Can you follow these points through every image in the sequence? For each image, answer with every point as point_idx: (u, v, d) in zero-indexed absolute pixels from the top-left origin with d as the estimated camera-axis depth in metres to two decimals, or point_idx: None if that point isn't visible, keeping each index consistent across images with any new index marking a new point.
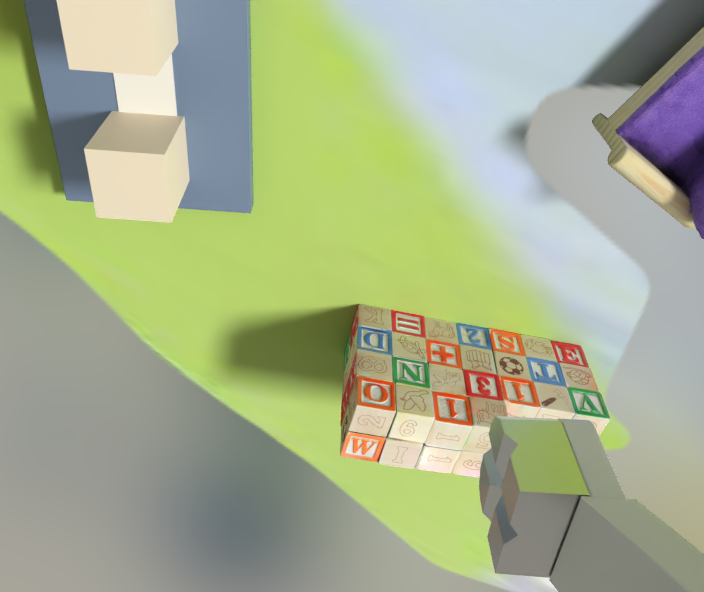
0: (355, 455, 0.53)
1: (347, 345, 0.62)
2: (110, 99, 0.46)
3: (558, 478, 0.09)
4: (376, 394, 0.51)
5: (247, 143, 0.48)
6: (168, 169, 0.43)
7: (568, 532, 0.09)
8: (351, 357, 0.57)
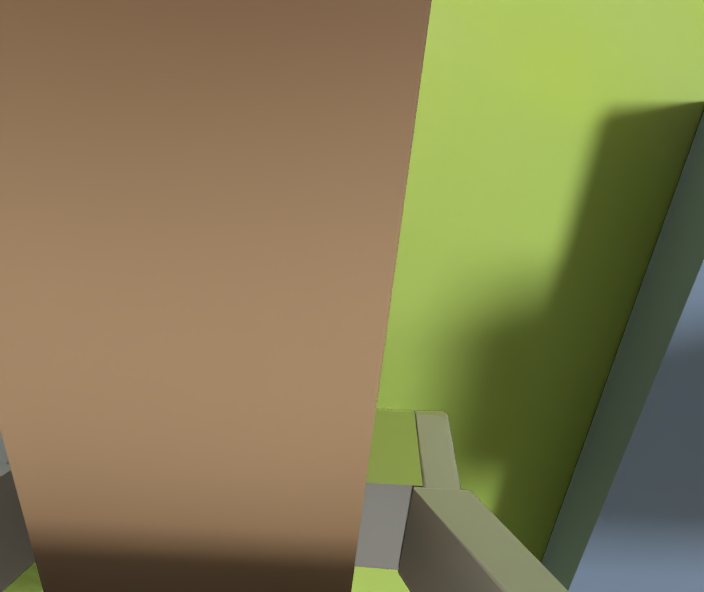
0: None
1: None
2: None
3: (395, 469, 0.09)
4: None
5: None
6: None
7: (407, 523, 0.09)
8: None
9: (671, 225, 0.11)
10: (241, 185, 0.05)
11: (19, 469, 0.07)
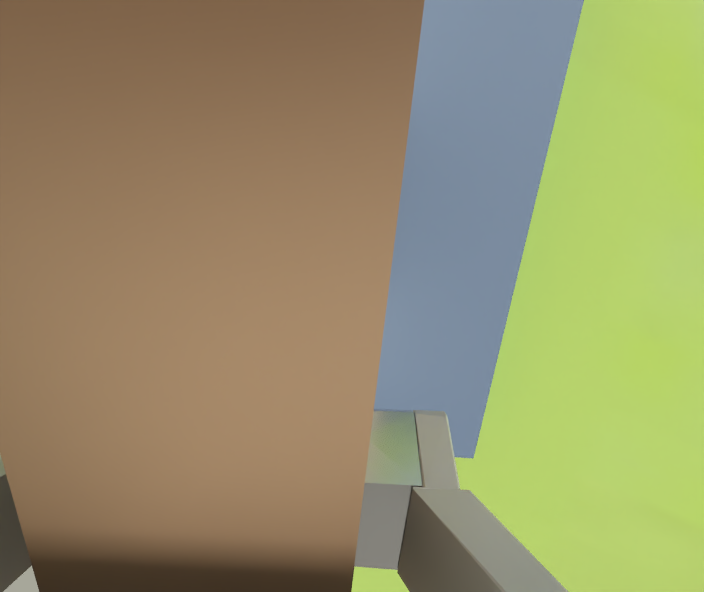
0: None
1: None
2: None
3: (394, 469, 0.09)
4: None
5: (499, 328, 0.21)
6: None
7: (406, 523, 0.09)
8: None
9: None
10: (236, 200, 0.05)
11: (16, 481, 0.07)
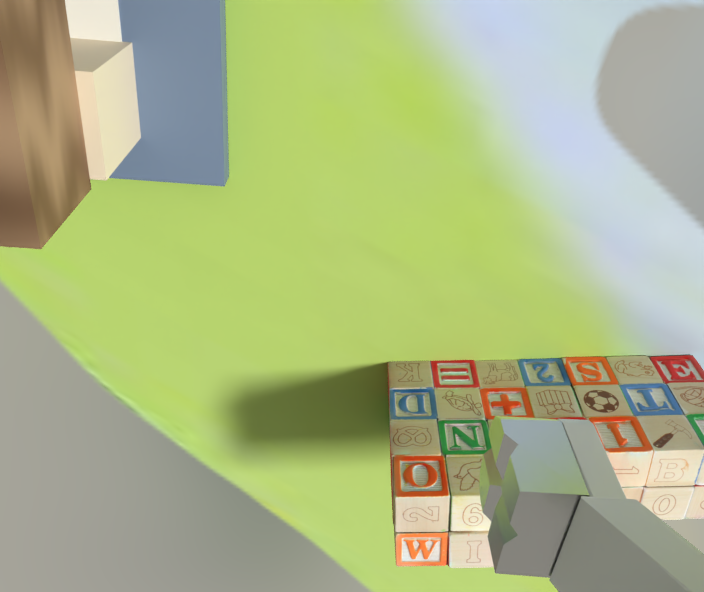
0: (415, 562, 0.40)
1: None
2: None
3: (558, 478, 0.09)
4: (421, 476, 0.38)
5: (219, 83, 0.35)
6: (100, 99, 0.30)
7: (567, 532, 0.09)
8: None
9: None
10: None
11: None
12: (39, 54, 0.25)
